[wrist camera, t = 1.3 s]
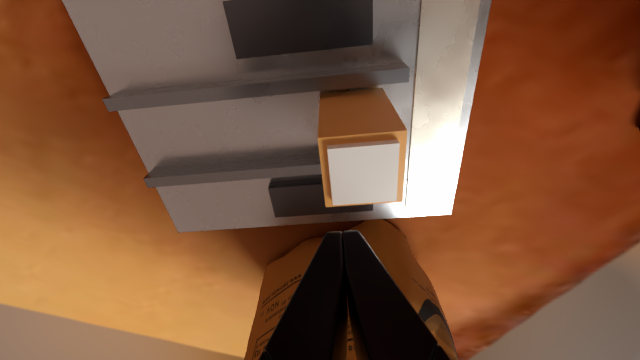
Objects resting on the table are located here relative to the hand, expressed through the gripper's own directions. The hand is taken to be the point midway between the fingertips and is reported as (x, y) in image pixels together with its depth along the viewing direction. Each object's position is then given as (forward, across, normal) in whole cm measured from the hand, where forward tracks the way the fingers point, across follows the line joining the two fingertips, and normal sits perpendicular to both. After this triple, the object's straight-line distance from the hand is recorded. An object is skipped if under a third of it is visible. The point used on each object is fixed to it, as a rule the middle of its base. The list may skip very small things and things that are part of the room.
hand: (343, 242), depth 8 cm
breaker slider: (+8, -1, 0) cm, 8 cm away
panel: (+11, +2, 0) cm, 11 cm away
